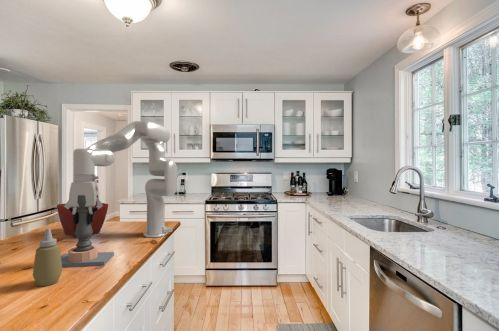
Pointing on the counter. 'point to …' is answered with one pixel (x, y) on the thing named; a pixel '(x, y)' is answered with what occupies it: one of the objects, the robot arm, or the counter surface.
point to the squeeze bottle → (47, 261)
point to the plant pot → (70, 225)
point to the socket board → (88, 263)
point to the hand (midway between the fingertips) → (83, 223)
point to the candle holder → (83, 227)
